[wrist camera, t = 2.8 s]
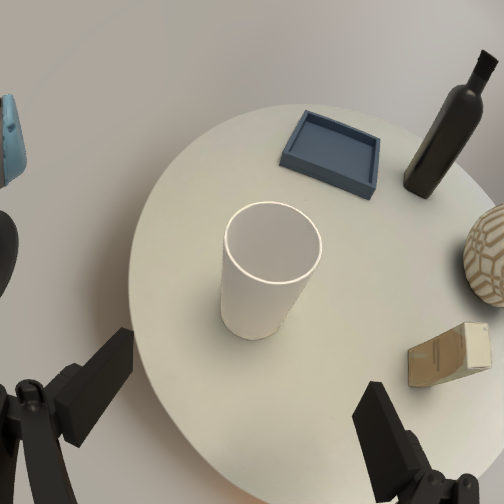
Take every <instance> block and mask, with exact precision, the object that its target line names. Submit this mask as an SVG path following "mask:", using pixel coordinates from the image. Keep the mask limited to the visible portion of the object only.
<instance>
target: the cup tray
mask: <svg viewBox="0 0 504 504" xmlns="http://www.w3.org/2000/svg"><path fill="white" fill-rule="evenodd" d="M379 151H380V139H379V138H377V137H375V136H372V135H370V134H368V133H365V132H363V131H360V130H358V129H356V128H353V127H351V126H348V125H346V124H343V123H340V122H338V121H335V120H332V119H330V118H327V117H324V116H321V115H319V114H316V113H313V112H310V111H307V110H305V112H304V114H303V115H302V117H301V119H300V121H299V123H298V124H297V126H296V128H295V130H294V132H293V134H292V135H291V137H290V139H289V141H288V143H287V145H286V147H285V148H284V150H283V152H282V156H281V160H280V164H279V165H280V166H283V167H286V168H289V169H292V170H294V171H297V172H300V173H303V174H305V175H308V176H311V177H313V178H316V179H318V180H321V181H324V182H326V183H329V184H331V185H334V186H336V187H339V188H341V189H344V190H346V191H348V192H351V193H353V194H356V195H358V196H360V197H363V198H365V199H367V200H370V198H371V196H372V195H373V193H374V191H375V189H376V182H377V173H378V163H379Z"/></svg>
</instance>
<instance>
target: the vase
mask: <svg viewBox="0 0 504 504" xmlns="http://www.w3.org/2000/svg"><path fill="white" fill-rule="evenodd" d="M463 262H464V269H465V274H466V278H467V281H468V283H469V285H470V287H471V288H472V290H473V291H474V293H475V294H476V295H477V296H478V297H479V298H480V299H482V300H483V301H484V302H486V303H488V304H490V305H492V306H495V307H501V308H504V203H503V204H500V205H498V206H496V207H494V208H492V209H490V210H488V211H487V212H485V213H484V214H483V215H482V216H481V217H480V218H479V219H478V220H477V221H476V223H475V224H474V225H473V227H472V229H471V230H470V232H469V235H468V237H467V240H466V243H465V247H464V254H463Z"/></svg>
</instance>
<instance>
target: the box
mask: <svg viewBox="0 0 504 504" xmlns="http://www.w3.org/2000/svg"><path fill="white" fill-rule="evenodd" d="M490 368H492V354H491V342H490V335H489V327H488V323H481V322H464V323H462V324H460V325H458V326H456V327H454V328H452V329H450V330H448V331H446V332H444V333H442V334H441V335H439V336H436V337H434V338H433V339H430V340H428V341H426V342H424V343H422V344H420V345H418V346H415V347H413V348H411V349H409V377H408V385H409V386H410V387H425V386H434V385H438V384H442V383H445V382H448V381H452V380H455V379H459V378H462V377H465V376H469V375H472V374H475V373H478V372H481V371H484V370H487V369H490Z"/></svg>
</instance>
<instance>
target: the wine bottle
mask: <svg viewBox="0 0 504 504" xmlns="http://www.w3.org/2000/svg"><path fill="white" fill-rule="evenodd" d="M497 64H498V61H497V59H496V58H494V57H493V56H492V55H490V54H489V53H487V52H486V51H484V50H482V51H481V54H480V56H479V58H478V62H477V64H476V66H475V68H474V70H473V72H472V74H471V76H470V78H469V80H468V82H467V84H466V85H458V86H456V87H454V88H453V89H452V90H451V91H450V92H449V94H448V96H447V98H446V100H445V102H444V104H443V106H442V108H441V110H440V112H439V113H438V115H437V117H436V119H435V121H434V122H433V124H432V126H431V128H430V130H429V132H428V133H427V135H426V137H425V139H424V140H423V142H422V144H421V146H420V147H419V149H418V151H417V153H416V154H415V156H414V158H413V159H412V161H411V163H410V164H409V166H408V168H407V169H406V171H405V176H404V186H405V187H406V188H407V189H408V190H410V191H412V192H414V193H416V194H418V195H419V196H421V197H423V198H429V196H430V195H431V194H432V192H433V191H434V190H435V188H436V187H437V186H438V184H439V183H440V181H441V180H442V179H443V177H444V176H445V174H446V173H447V171H448V170H449V169H450V167H451V166H452V164H453V163H454V161H455V160H456V158H457V157H458V155H459V154H460V152H461V151H462V149H463V147H464V146H465V145H466V143H467V141H468V140H469V138H470V137H471V135H472V134H473V132H474V130H475V129H476V127H477V125H478V124H479V122H480V120H481V117H482V113H483V102H482V98H481V93H482V91H483V90H484V87H485V86H486V83H487V82H488V80H489V78H490V76H491V73H492V72H493V71H494V70H495V69H494V68H495V67H496V65H497Z"/></svg>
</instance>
